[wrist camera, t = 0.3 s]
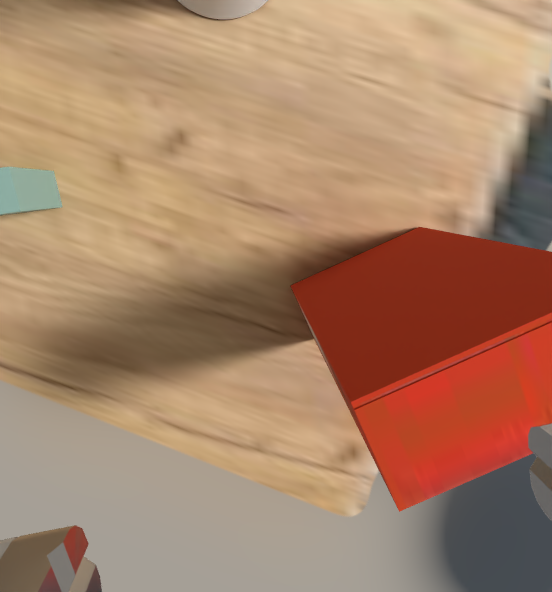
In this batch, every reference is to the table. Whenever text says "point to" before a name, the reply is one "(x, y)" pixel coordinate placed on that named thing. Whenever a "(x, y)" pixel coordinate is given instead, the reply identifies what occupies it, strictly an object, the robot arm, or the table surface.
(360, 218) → the table surface
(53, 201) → the sage green box
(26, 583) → the robot arm
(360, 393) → the file binder
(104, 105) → the table surface
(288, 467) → the table surface
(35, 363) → the table surface
